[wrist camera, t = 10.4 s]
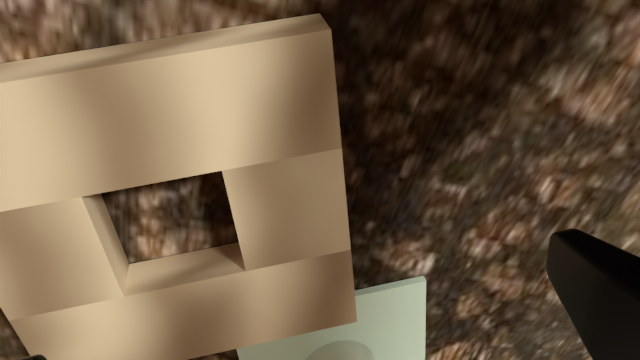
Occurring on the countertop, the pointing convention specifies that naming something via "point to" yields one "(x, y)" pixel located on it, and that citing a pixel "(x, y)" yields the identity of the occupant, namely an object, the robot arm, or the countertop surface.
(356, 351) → the ceramic cylinder
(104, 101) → the pocket block
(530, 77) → the countertop surface
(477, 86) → the countertop surface
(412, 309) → the plate
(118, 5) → the countertop surface
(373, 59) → the countertop surface
